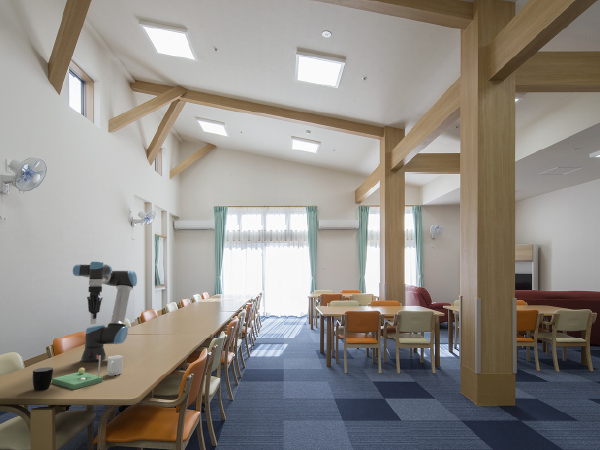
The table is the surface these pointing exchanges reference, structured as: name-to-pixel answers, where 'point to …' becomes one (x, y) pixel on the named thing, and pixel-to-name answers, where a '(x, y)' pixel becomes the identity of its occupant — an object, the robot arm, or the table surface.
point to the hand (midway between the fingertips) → (93, 323)
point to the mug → (42, 378)
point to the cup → (114, 365)
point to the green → (78, 379)
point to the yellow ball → (81, 370)
